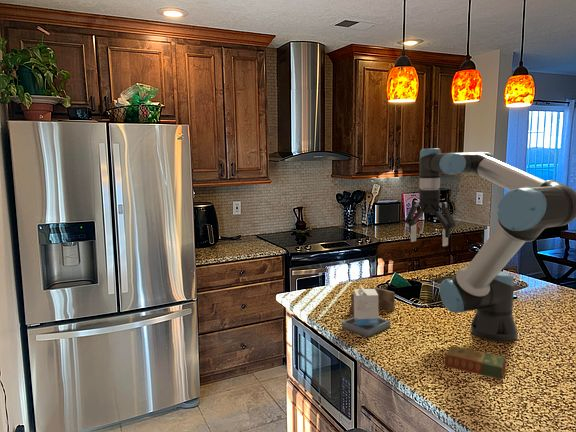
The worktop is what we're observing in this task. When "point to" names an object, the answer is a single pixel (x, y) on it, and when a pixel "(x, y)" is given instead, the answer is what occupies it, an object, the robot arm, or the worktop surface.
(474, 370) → the carton
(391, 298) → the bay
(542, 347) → the worktop surface
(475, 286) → the robot arm
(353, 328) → the tray
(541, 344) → the worktop surface
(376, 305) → the ink box
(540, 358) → the worktop surface
